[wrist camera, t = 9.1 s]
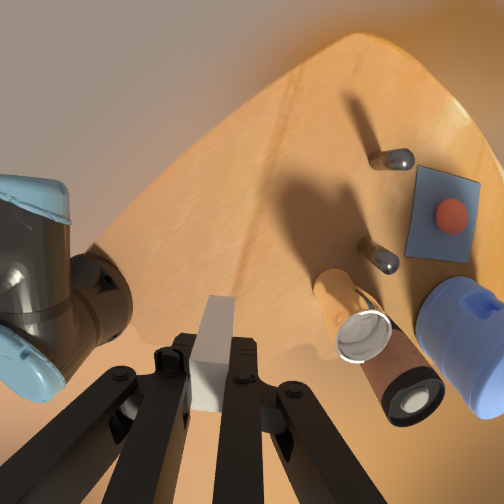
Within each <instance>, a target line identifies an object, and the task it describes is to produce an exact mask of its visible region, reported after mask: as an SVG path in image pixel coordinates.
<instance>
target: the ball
mask: <svg viewBox="0 0 504 504" xmlns="http://www.w3.org/2000/svg"><path fill="white" fill-rule="evenodd" d="M436 222H437V224H438V226H439V228H440V229H441V230H442V231H443V232H445V233H447V234H450V235H455V234H458V233H460V232H462V231H463V230H464V228H465V227H466V225H467V222H468V213H467V210H466V208H465V206H464V205H463V204H462V203H461V202H460V201H459V200H457V199H446V200H444V201H442V202H441V203H440V204H439V206H438V208H437V210H436Z"/></svg>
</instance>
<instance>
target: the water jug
mask: <svg viewBox="0 0 504 504" xmlns="http://www.w3.org/2000/svg"><path fill="white" fill-rule="evenodd" d="M416 338H417V342H418V344H419V346H420V347H421V349H422V350H423V351H424V352H425V353H426V354H427V355H428V356H429V357H430V358H431V359H432V360H433V362H434V363H435V364H436V365H437V366H438V368H439V370H440V371H441V373H442V374H443V375H444V376H445V378H446V379H447V380H449V381H450V382H451V383H452V385H453V386H454V387H455V389H456V390H457V391H458V392H459V393H460V395H461V396H462V397H463V400H464V401H465V403H466V404H467V406H468V407H469V408H470V409H471V410H472V411H473V412H474V413H475V414H476V415H477V416H478V417H479V418H481V419H492V418H495V417H497V416H499V415H501V414H503V413H504V303H503V302H501V301H500V300H498V299H497V298H496V296H495V295H494V294H493V293H492V292H491V291H489V290H488V289H486V288H484V287H483V286H481V285H479V284H478V283H477V282H476V281H474V280H472V279H471V278H468V277H465V276H457V277H452V278H450V279H447V280H445V281H444V282H442V283H441V284H439V285H438V286H437V287H436V288H435V289H434V290H433V291H432V292H431V293H430V294H429V296H428V297H427V298H426V300H425V302H424V303H423V305H422V307H421V309H420V312H419V314H418V318H417V322H416Z"/></svg>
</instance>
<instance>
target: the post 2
mask: <svg viewBox="0 0 504 504" xmlns="http://www.w3.org/2000/svg"><path fill="white" fill-rule="evenodd" d="M358 252H359V253H360V254H361V255H362V256H364V257H365V258H366V259H367V260H369V261H370V262H371V263H372V264H374V265H375V266H376V267H377V268H379V269H380V270H381V271H382V272H383V273H385V274H388V275H390V274H393V273H395V272H396V271H397V269H398V267H399V258H398V257H397V256H396V255H395V254H393V253H392V252H390V251H388V250H387V249H385V248H384V247H382V246H380V245H379V244H377V243H375V242H374V241H372V240H370V239H368V238H364V239H362V240H361V241H360V242H359V243H358Z"/></svg>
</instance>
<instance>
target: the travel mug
mask: <svg viewBox="0 0 504 504" xmlns="http://www.w3.org/2000/svg"><path fill="white" fill-rule="evenodd" d="M384 313H385V312H384ZM385 314H386V313H385ZM386 316H387V317H388V318H389V320H390V322H391V325H392V335H391V339H390V341H389V343H388V345H387V347H386V348H385V349H384V350H383V351H382V352H381V353H380V354H379V355H378V356H376V357H375V358H373V359H371V360H369V361H366V362H361V363H360V365H361V367H362V369H363V371H364V373H365V375H366V377H367V379H368V381H369V383H370V385H371V387H372V388H373V391H374V393H375V394H376V397H377V398H378V401H379V403H380V404H381V406H382V408H383V411H384V412H385V415H386V417H387V419H388V420H389V422H390V423H391V424H392V425H394V426H396V427H408V426H412V425H415V424H417V423H419V422H421V421H423V420H424V419H426V418H427V417H428V416H430V415H431V414H432V413H433V412H434V411H435V410H436V409H437V408H438V406H439V405H440V403H441V402H442V400H443V398H444V395H445V385H444V383H443V381H442V380H441V379H440V377H439V376H438V375H437V373H436V372H435V371H434V369H433V368H432V367H431V365H430V364H429V363H428V362H427V360H426V359H425V358H424V357H423V355H422V354H421V353H420V352H419V350H418V349H417V348H416V347H415V345H414V344H413V343H412V342H411V340H410V339H409V338H408V337H407V336H406V334H405V333H404V332H403V331H402V330H401V329H400V328H399V327H398V326H397V325H396V324H395V323H394V322H393V321H392V320H391V318H390V317H389V316H388V315H387V314H386Z"/></svg>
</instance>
